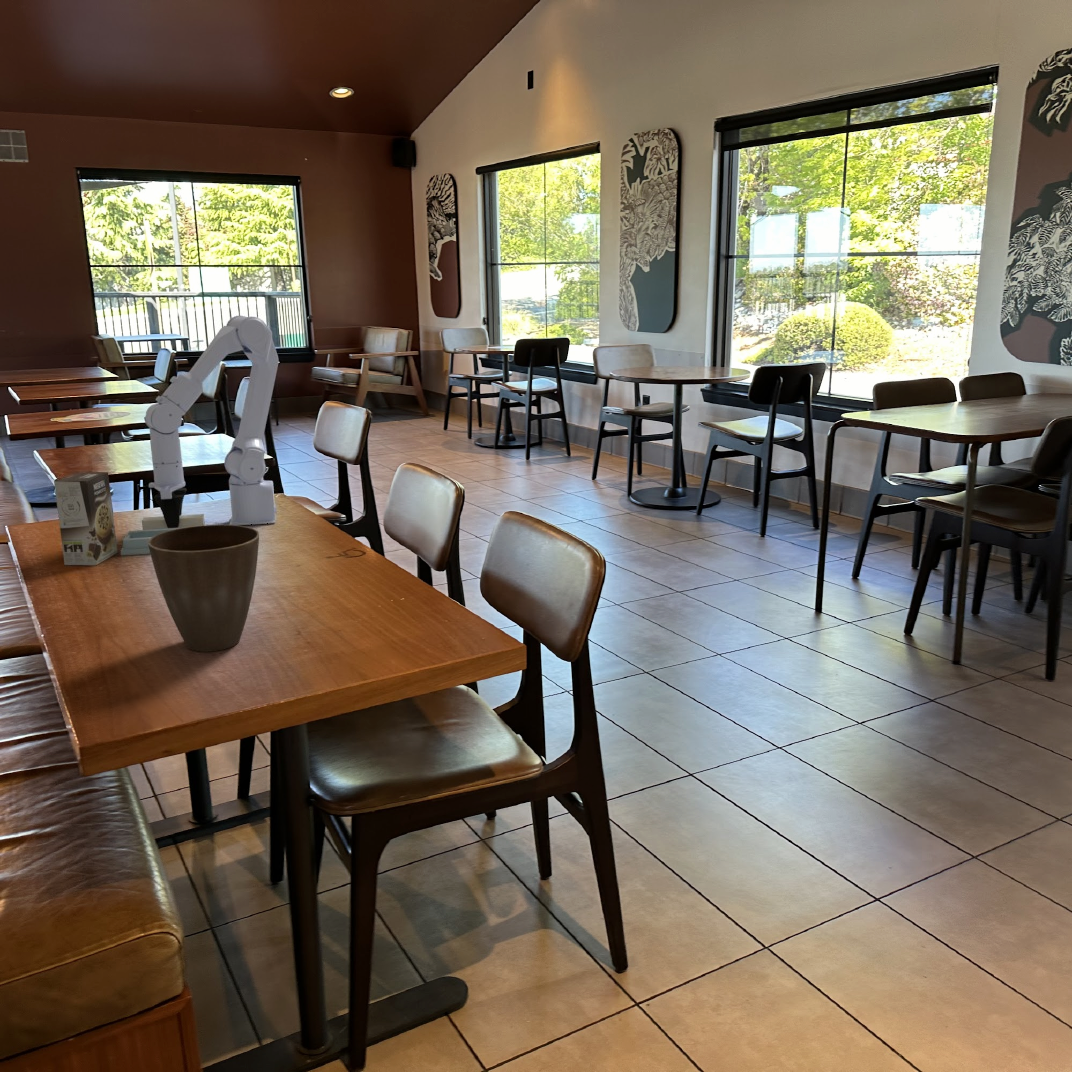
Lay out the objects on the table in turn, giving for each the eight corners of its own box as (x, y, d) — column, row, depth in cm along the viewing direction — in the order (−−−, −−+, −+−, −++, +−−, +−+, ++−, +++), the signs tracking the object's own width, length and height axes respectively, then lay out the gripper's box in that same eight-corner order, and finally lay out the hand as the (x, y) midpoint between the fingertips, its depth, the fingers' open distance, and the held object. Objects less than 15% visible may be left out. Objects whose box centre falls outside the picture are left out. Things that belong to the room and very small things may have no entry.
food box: (97, 565, 177) (86, 480, 173) (63, 565, 177) (51, 480, 173) (119, 552, 186) (109, 471, 182) (86, 552, 186) (76, 471, 182)
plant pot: (230, 618, 149) (220, 518, 145) (288, 639, 140) (280, 534, 136) (139, 645, 138) (127, 539, 134) (196, 670, 129) (185, 557, 125)
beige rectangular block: (205, 528, 204) (203, 514, 203) (203, 532, 201) (202, 517, 200) (145, 532, 201) (143, 517, 200) (143, 535, 198) (141, 520, 197)
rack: (211, 538, 196) (210, 525, 195) (208, 549, 187) (206, 535, 187) (128, 543, 192) (127, 530, 191) (121, 555, 184) (119, 541, 183)
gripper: (151, 456, 203) (158, 518, 207) (141, 469, 189) (149, 535, 193) (186, 455, 205) (192, 516, 208) (179, 467, 191) (185, 532, 195)
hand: (174, 525), depth 201 cm, fingers closed on beige rectangular block, 3 cm apart
